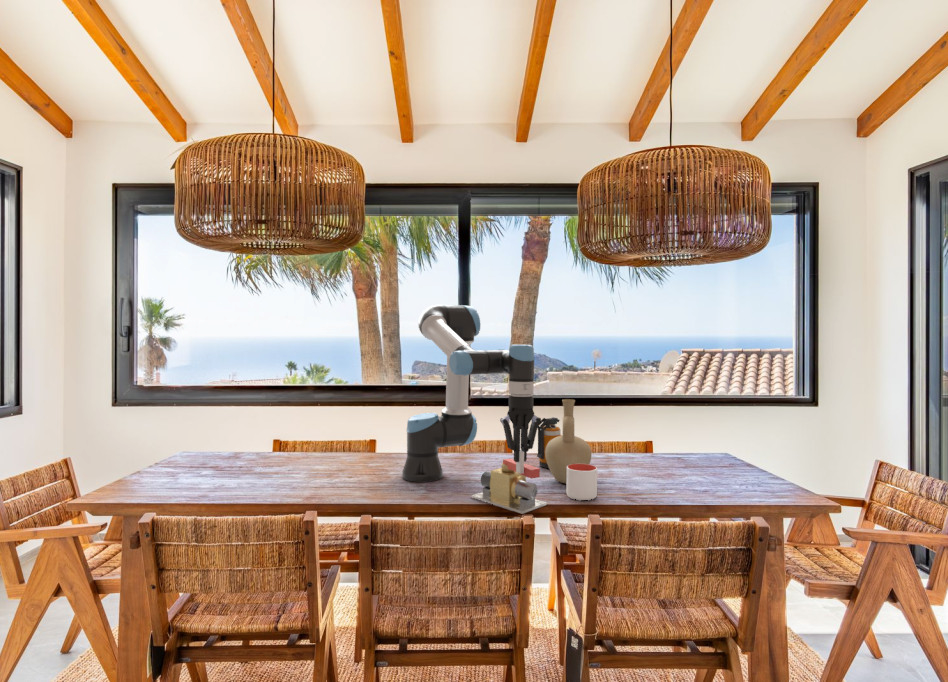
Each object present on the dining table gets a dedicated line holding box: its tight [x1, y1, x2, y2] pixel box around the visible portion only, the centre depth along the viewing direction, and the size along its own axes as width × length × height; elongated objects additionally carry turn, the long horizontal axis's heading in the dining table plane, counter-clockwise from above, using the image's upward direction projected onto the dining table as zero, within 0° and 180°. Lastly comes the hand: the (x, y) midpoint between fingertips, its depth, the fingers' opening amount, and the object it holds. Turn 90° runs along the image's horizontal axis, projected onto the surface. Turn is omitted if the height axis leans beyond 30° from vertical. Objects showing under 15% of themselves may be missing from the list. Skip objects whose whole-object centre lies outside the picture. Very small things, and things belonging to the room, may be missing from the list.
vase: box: [545, 398, 592, 484], centre depth 201 cm, size 17×17×30 cm
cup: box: [565, 464, 598, 501], centre depth 183 cm, size 10×10×10 cm
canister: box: [536, 416, 563, 469], centre depth 222 cm, size 9×11×20 cm
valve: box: [470, 467, 548, 515], centre depth 178 cm, size 22×12×10 cm, turn 45°
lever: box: [500, 458, 541, 479], centre depth 173 cm, size 17×4×4 cm, turn 30°
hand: (520, 472), depth 168 cm, fingers closed
